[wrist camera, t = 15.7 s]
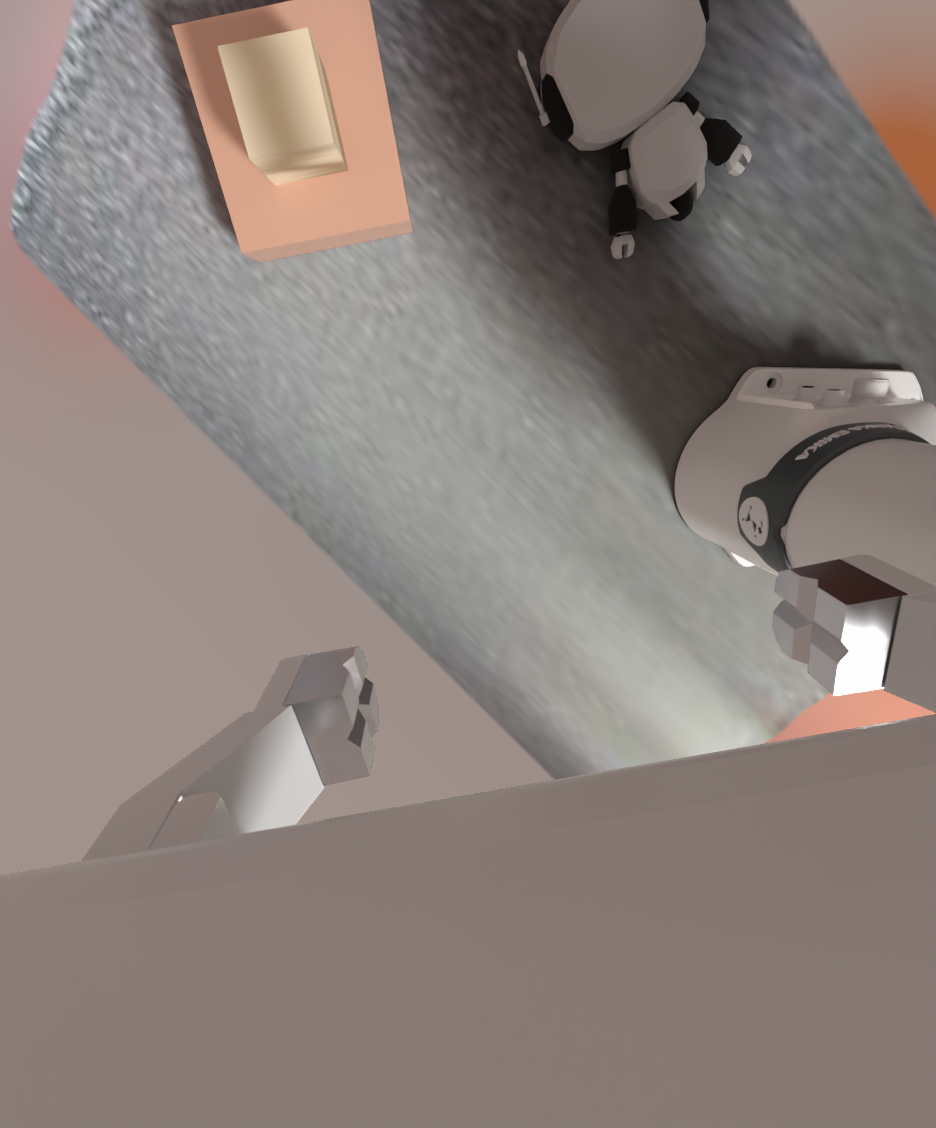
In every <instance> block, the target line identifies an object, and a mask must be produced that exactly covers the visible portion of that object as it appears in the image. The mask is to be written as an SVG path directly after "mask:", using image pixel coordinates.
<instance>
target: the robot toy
mask: <svg viewBox="0 0 936 1128" xmlns="http://www.w3.org/2000/svg"><path fill="white" fill-rule="evenodd" d="M708 20H709V8H708V0H570V1H569V3H568V4H567V6H566V7H565V9H564V10H563V12H562V13H561V15H560V17H559V18H558V20H557V22H556V24H555V26H554V28H553V30H552V32H551V34H550V36H549V38H548V40H547V42H546V44H545V48H544V51H543V54H542V57H541V61H540V70H541V81H542V82H541V83H540V85H539V87H538V89H537V90H538V94H537V92H536V89H535V86H534V84H533V81H532V78H531V76H530V73H529V70H528V67H527V65H526V64H527V62H526V59H525V57H524V54H523V53H522V52H521V51H520V50H519V49H518V59H519V62H520V65H521V67H523V70H524V73H525V75H526V78H527V80H528V83H529V86H530V88H531V91H532V94H533V96H534V99H535V102H536V104H537V107H538V110H539V112H540V115H539V118H540V120H541V123H542V126H546V125H547V124H548V127H549V129H550V131H551V132H552V133H553V134H555V135H556V136H557V138H558V139H559V140H560V141H561V142H563V141H566V140H568V141H570V142H571V143H572V144H573V145H574V146H575V147H576V148H577V149H578V150H585V151H595V150H599V149H602V148H605V147H608V146H610V145H613V144H615V143H617V142H619V141H620V140H622V139H624V138H626V137H627V136H629V135H630V136H629V137H628V138H627V139H625V140H624V141H623V144H622V147H621V149H620V150H616V151H614V152H612V153H611V154H610V173H612V174H616V189H615V191H614V194H613V196H612V199H611V202H610V205H609V208H608V222H609V236H610V235H615V236H614V239H613V242H612V245H611V251H612V256H613V257H614V258H615V259H621V258H622V245H624V258H626V257H630V256H631V255H632V254H633V251H634V245H635V242H634V240H633V237H632V235H631V233H630V231H633V230H636V229H637V228H636V207H637V208H640V209H643V210H645V211H646V212H647V213H648V214H649V215H650V216H651V217H652V218H653V219H654V220H658V219H665V218H668V217H670V218H671V219H672V220H674V221H681V220H683V219H685V218H686V217H687V216H688V215H689V214H690V212H691V210H692V207H693V201H695V200H697V199H698V198H699V196H700V194H701V193H702V191H703V189H704V188H705V169H704V168H705V164H706V161H707V158H708V159H709V160H710V161H711V162H712V163H713V164H715V165H716V166H720V165H721V164H723V163H724V164H725V168H726V171H727V172H728V173H729V174H731V175H734V176H737V175H739V174H741V173H742V172H743V171H744V169H745V167H743V166H742V165H741V164H740V163H739V162H738V160H740V161H741V162H742V163H743V164H744V165H746V164H748V163H749V161H750V160H751V155H752V154H751V152H750V150H749V148H748V147H747V145H743V144H739V142H740V140H741V138H742V136H741V135H740V134H739V133H738V132H737V131H736V130H735V129H734V128H733V127H732V126H731V125H730V124H729V123H728V122H727V121H726V120H721V119H711V118H704V117H703V116H702V115H701V114H700V113H699V112H698V111H697V109H698V107H699V101H698V100H697V99H695V98H694V97H693V96H692V95H691V94H690V93H689V92H688V93H686V94H685V95H684V96H683V97H682V98H681V99H680V100H679V102H671V103H670V104H669V105H668V106H666V105H667V104H668V103H669V102H670V101H671V100H672V99H673V98H674V97H675V96H676V94H677V93H678V92H679V91H680V90H681V88H682V87H683V86H684V84H685V83H686V82H687V81H688V79H689V78H690V77H691V75H692V73H693V72H694V70H695V68H696V67H697V65H698V62H699V60H700V57H701V55H702V52H703V50H704V48H705V33H706V23H707V22H708ZM665 106H666V107H665ZM664 107H665V108H664ZM663 108H664V109H663ZM662 109H663V110H662ZM631 134H632V135H631Z"/></svg>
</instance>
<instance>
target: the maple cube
mask: <svg viewBox="0 0 936 1128" xmlns="http://www.w3.org/2000/svg"><path fill="white" fill-rule="evenodd" d="M217 47H218V51H219V54H220V58H221V61H222V65H223V68H224V72H225V75H226V79H227V82H228V86H229V89H230V93H231V96H232V100H233V104H234V107H235V111H236V114H237V118H238V121H239V125H240V128H241V132H242V135H243V139H244V142H245V146H246V149H247V153H248V156H249V160H250V161H251V162H252V163H253V164H254V165H255V166H256V167H257V168H258V169H259V170H260V171H261V172H262V173H263V174H264V175H265V176H267V177H268V178H269V179H270V180H271V181H272V182H273V183H274V184H275V185H280V184H285V183H290V182H295V181H300V180H305V179H310V178H315V177H320V176H325V175H330V174H335V173H340V172H345V171H348V167H347V162H346V157H345V153H344V148H343V144H342V139H341V135H340V130H339V126H338V121H337V117H336V112H335V108H334V103H333V98H332V94H331V89H330V85H329V80H328V76H327V73H326V70H325V68H324V65H323V63H322V61H321V58H320V56H319V53H318V51H317V48H316V46H315V44H314V41H313V39H312V36H311V34H310V32H309V29H308V27H307V28H302V29H297V30H293V31H288V32H283V33H278V34H273V35H269V36H264V37H259V38H254V39H249V40H244V41H240V42H235V43H230V44H225V45H220V46H217Z"/></svg>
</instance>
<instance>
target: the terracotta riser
mask: <svg viewBox="0 0 936 1128" xmlns="http://www.w3.org/2000/svg"><path fill="white" fill-rule="evenodd" d="M307 27H308V29H309V32H310V34H311V36H312V39H313V41H314V44H315V46H316V48H317V51H318V53H319V56H320V58H321V61H322V63H323V65H324V68H325V70H326V73H327V76H328V80H329V85H330V89H331V94H332V98H333V103H334V108H335V112H336V117H337V121H338V126H339V130H340V135H341V139H342V144H343V148H344V153H345V157H346V162H347V167H348V171H345V172H340V173H335V174H330V175H325V176H320V177H315V178H310V179H305V180H300V181H295V182H290V183H285V184H280V185H275V184H274V183H273V182H272V181H271V180H270V179H269V178H268V177H267V176H265V175H264V174H263V173H262V172H261V171H260V170H259V169H258V168H257V167H256V166H255V165H254V164H253V163H252V162H251V161H250V160H249V156H248V153H247V149H246V146H245V142H244V139H243V135H242V132H241V128H240V125H239V121H238V118H237V114H236V111H235V107H234V104H233V100H232V96H231V93H230V89H229V86H228V82H227V79H226V75H225V72H224V68H223V65H222V61H221V58H220V54H219V51H218V47H217V46H220V45H225V44H230V43H235V42H240V41H244V40H249V39H254V38H259V37H264V36H269V35H273V34H278V33H283V32H288V31H293V30H297V29H302V28H307ZM172 28H173V31H174V34H175V38H176V41H177V44H178V47H179V51H180V54H181V57H182V60H183V64H184V67H185V70H186V73H187V77H188V80H189V83H190V86H191V90H192V93H193V96H194V99H195V103H196V106H197V109H198V113H199V116H200V119H201V122H202V126H203V129H204V132H205V135H206V139H207V142H208V145H209V148H210V152H211V155H212V158H213V161H214V165H215V168H216V171H217V174H218V178H219V181H220V184H221V187H222V191H223V194H224V197H225V201H226V204H227V207H228V210H229V214H230V217H231V220H232V223H233V227H234V230H235V233H236V236H237V240H238V243H239V246H240V249H241V253H242V254H244V255H246V256H248V257H250V258H252V259H254V260H256V261H258V262H260V263H261V262H266V261H271V260H276V259H281V258H286V257H291V256H297V255H302V254H307V253H312V252H317V251H322V250H327V249H332V248H337V247H342V246H347V245H352V244H357V243H362V242H368V241H373V240H378V239H383V238H388V237H393V236H398V235H403V234H408V233H413V229H412V224H411V219H410V213H409V208H408V202H407V197H406V192H405V186H404V181H403V176H402V170H401V165H400V159H399V154H398V149H397V143H396V138H395V132H394V127H393V122H392V116H391V111H390V106H389V100H388V95H387V89H386V84H385V79H384V73H383V68H382V62H381V57H380V52H379V46H378V41H377V36H376V30H375V25H374V20H373V15H372V10H371V5H370V0H291V1H286V2H281V3H277V4H272V5H267V6H262V7H257V8H253V9H248V10H243V11H238V12H234V13H229V14H224V15H219V16H214V17H210V18H205V19H200V20H195V21H191V22H186V23H181V24H176V25H172Z"/></svg>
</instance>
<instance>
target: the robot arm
mask: <svg viewBox="0 0 936 1128" xmlns="http://www.w3.org/2000/svg"><path fill="white" fill-rule="evenodd" d="M770 378H771V380H772V383H771V385H770V386H769V387H767V381H768V380H769V379H770ZM675 498H676V503H677V506H678V509H679V512H680V514H681V516H682V518H683V520H684V521H685V522H686V524H687V525H688V526H689V527H690V528H691V529H692V530H693V531H694V532H695V533H696V534H698V535H699V536H701V537H702V538H704V539H706V540H708V541H711V542H713V543H715V544H718V545H719V546H721V547H722V548H723V549H724V550H725V551H726V553H727V554H728V555H729V556H730V558H731V559H732V560H733V561H735V562H736V563H738V564H740V565H742V566H744V567H750V566H754V565H756V566H758V567H760V568H762V569H764V570H766V571H768V572H770V573H772V574H774V575H776V576H777V579H776V583H775V593H776V594H777V596H778V597H779V598H780V599H781V600H782V601H781V602H780V604H779V605H778V606H777V608H776V609H775V610H774V612H773V626H772V628H773V631H774V634H775V637H776V641H777V642H778V644H779V645H780V647H781V648H782V650H783V651H784V652H785V653H786V654H787V655H788V656H789V657H790V658H792V659H794V660H797V661H800V662H803V663H806V664H808V673H809V674H810V675H811V676H812V677H813V678H814V679H815V680H817V681H818V682H819V683H820V684H821V685H822V686H823V687H825V688H826V689H827V690H828V691H829V692H830V693H832V694H833V695H841V694H847V693H854V692H861V691H868V690H875V689H881V688H884V691H886V692H889V693H891V694H893V695H896V696H898V697H900V698H903V699H905V700H907V701H910V702H912V703H914V704H917V705H919V706H921V707H924V708H926V709H928V710H931V711H933V712H935V713H936V407H935V406H934V405H933V404H932V403H930V402H927V401H923V396H922V392H921V388H920V385H919V383H918V381H917V379H916V377H915V375H914V374H913V373H912V372H908V371H903V370H889V369H841V368H792V367H754V368H751V369H749V370H748V371H747V372H745V373H744V375H743V376H742V377H741V378H740V380H739V381H738V383H737V384H736V386H735V388H734V389H733V391H732V393H731V394H730V396H729V398H728V400H727V401H726V402H725V403H724V404H723V405H722V406H721V407H720V408H719V409H717V410H716V411H715V412H714V413H713V414H712V415H710V416H709V417H708V418H707V419H706V420H705V421H704V422H703V423H702V424H701V425H700V426H699V427H698V429H697V430H696V431H695V432H694V434H693V435H692V436H691V438H690V439H689V441H688V443H687V444H686V446H685V448H684V450H683V452H682V454H681V457H680V460H679V463H678V466H677V470H676V476H675ZM366 670H367V662H366V659H365V656H364V653H363V651H362V649H361V648H360V647H359V646H358V647H351V648H345V649H338V650H332V651H326V652H320V653H314V654H309V655H308V654H306V655H300V656H295V657H290V658H285V659H283V660H280V662H279V664H278V666H277V667H276V669H275V671H274V673H273V675H272V677H271V679H270V681H269V683H268V685H267V687H266V689H265V690H264V692H263V694H262V696H261V698H260V700H259V702H258V704H257V706H256V708H255V710H254V711H253V712H248V713H245V714H243V715H242V716H241V717H240V718H238V719H237V720H235V721H234V722H233V723H231V724H230V725H229V726H227V727H226V728H224V729H223V730H222V731H220V732H219V733H218V734H216V735H215V736H214V737H212V738H211V739H209V740H208V741H207V742H205V743H204V744H203V745H201V746H200V747H199V748H197V749H196V750H194V751H193V752H192V753H190V754H189V755H188V756H186V757H185V758H184V759H182V760H181V761H180V762H178V763H177V764H176V765H174V766H173V767H171V768H170V769H169V770H167V771H166V772H165V773H163V774H162V775H161V776H159V777H158V778H157V779H155V780H154V781H152V782H151V783H150V784H148V785H147V786H146V787H144V788H143V789H142V790H140V791H139V792H137V793H136V794H135V795H133V796H132V797H131V798H129V799H128V800H127V801H125V802H124V803H123V804H122V805H120V807H119V808H118V809H117V811H116V812H115V814H114V815H113V816H112V818H111V819H110V821H109V822H108V824H107V825H106V826H105V828H104V829H103V831H102V832H101V834H100V835H99V837H98V838H97V839H96V841H95V842H94V843H93V845H92V846H91V848H90V849H89V851H88V852H87V853H86V855H85V856H84V858H83V859H82V861H81V862H75V863H69V864H63V865H58V866H52V867H46V868H40V869H35V870H29V871H23V872H17V873H11V874H6V875H0V1128H936V714H934V715H929V716H923V717H918V718H912V719H906V720H900V721H894V722H888V723H882V724H876V725H871V726H865V727H859V728H853V729H847V730H842V731H836V732H831V733H824V734H818V735H813V736H807V737H801V738H795V739H790V740H784V741H778V742H772V743H766V744H760V745H755V746H749V747H743V748H737V749H731V750H726V751H720V752H714V753H708V754H702V755H697V756H691V757H685V758H679V759H673V760H667V761H662V762H656V763H650V764H644V765H638V766H633V767H627V768H621V769H615V770H609V771H604V772H598V773H592V774H586V775H580V776H574V777H569V778H563V779H557V780H551V781H546V782H540V783H534V784H528V785H522V786H516V787H511V788H505V789H499V790H493V791H488V792H482V793H476V794H470V795H465V796H458V797H453V798H447V799H441V800H436V801H429V802H424V803H418V804H412V805H406V806H401V807H394V808H388V809H383V810H377V811H371V812H365V813H359V814H354V815H348V816H342V817H336V818H330V819H325V820H319V821H313V822H307V823H302V824H296V823H297V822H298V821H299V819H300V818H301V817H302V816H303V814H304V813H305V812H306V811H307V809H308V808H309V807H310V805H311V804H312V803H313V802H314V800H315V799H316V798H317V796H318V795H319V794H320V793H321V791H322V790H323V789H324V785H329V784H334V783H339V782H344V781H349V780H353V779H358V778H363V777H368V776H370V773H371V767H372V762H373V756H374V750H375V748H374V745H373V742H372V739H371V738H372V737H373V736H374V734H375V733H376V732H377V730H378V724H379V705H378V701H377V695H376V691H375V688H374V685H373V683H372V682H371V681H369V680H368V679H367V678H365V674H366Z"/></svg>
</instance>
